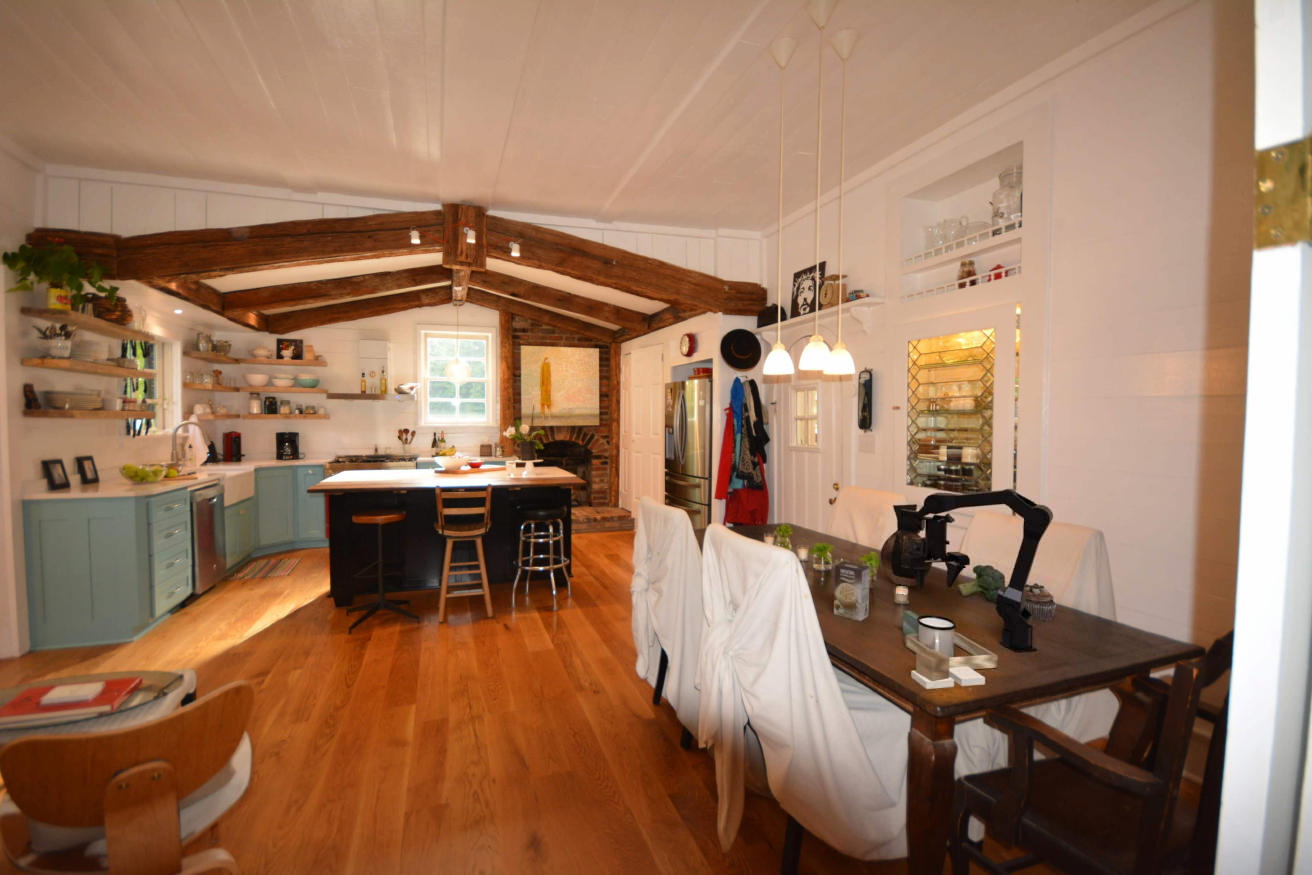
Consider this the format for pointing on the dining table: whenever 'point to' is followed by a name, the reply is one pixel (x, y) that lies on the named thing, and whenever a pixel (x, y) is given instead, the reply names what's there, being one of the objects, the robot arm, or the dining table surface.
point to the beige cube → (932, 665)
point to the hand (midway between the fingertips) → (934, 588)
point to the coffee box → (851, 590)
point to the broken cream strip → (952, 678)
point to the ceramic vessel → (900, 553)
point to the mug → (937, 633)
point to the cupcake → (1039, 602)
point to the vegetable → (984, 582)
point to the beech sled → (981, 654)
